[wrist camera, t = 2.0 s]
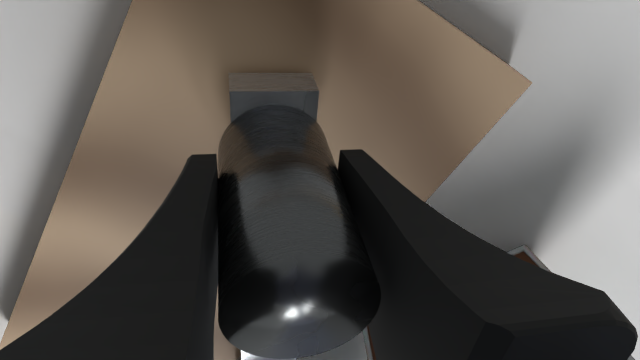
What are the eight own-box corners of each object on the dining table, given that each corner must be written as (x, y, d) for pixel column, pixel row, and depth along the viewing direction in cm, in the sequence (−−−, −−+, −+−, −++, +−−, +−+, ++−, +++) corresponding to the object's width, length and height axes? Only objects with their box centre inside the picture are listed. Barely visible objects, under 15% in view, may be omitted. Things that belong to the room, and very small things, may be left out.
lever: (297, 374, 23) (321, 535, 18) (234, 382, 22) (239, 552, 17) (325, 72, 13) (398, 231, 8) (214, 72, 12) (211, 244, 7)
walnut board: (253, 364, 25) (255, 390, 24) (9, 323, 19) (-4, 354, 18) (509, 65, 16) (532, 83, 15) (195, -159, 11) (193, -158, 10)
